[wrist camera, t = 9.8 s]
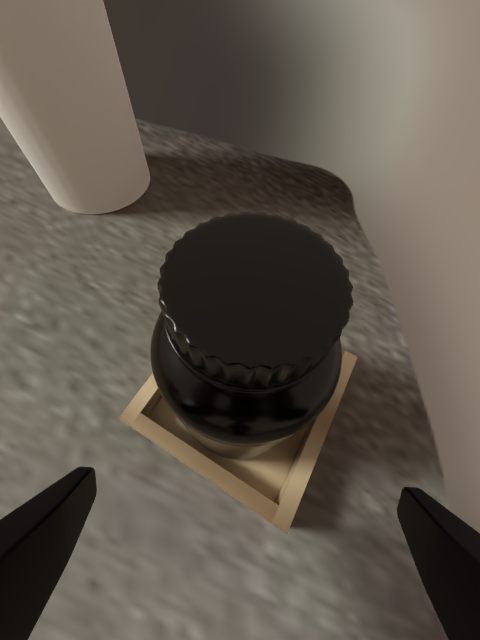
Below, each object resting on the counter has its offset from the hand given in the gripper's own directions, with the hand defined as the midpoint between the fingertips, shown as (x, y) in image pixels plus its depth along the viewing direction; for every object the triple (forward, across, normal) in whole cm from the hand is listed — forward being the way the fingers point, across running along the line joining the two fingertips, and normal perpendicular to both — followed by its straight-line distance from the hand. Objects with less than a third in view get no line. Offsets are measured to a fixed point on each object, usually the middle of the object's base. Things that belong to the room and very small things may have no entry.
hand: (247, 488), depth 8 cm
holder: (+10, 0, +2) cm, 10 cm away
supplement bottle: (+9, 0, +2) cm, 9 cm away
